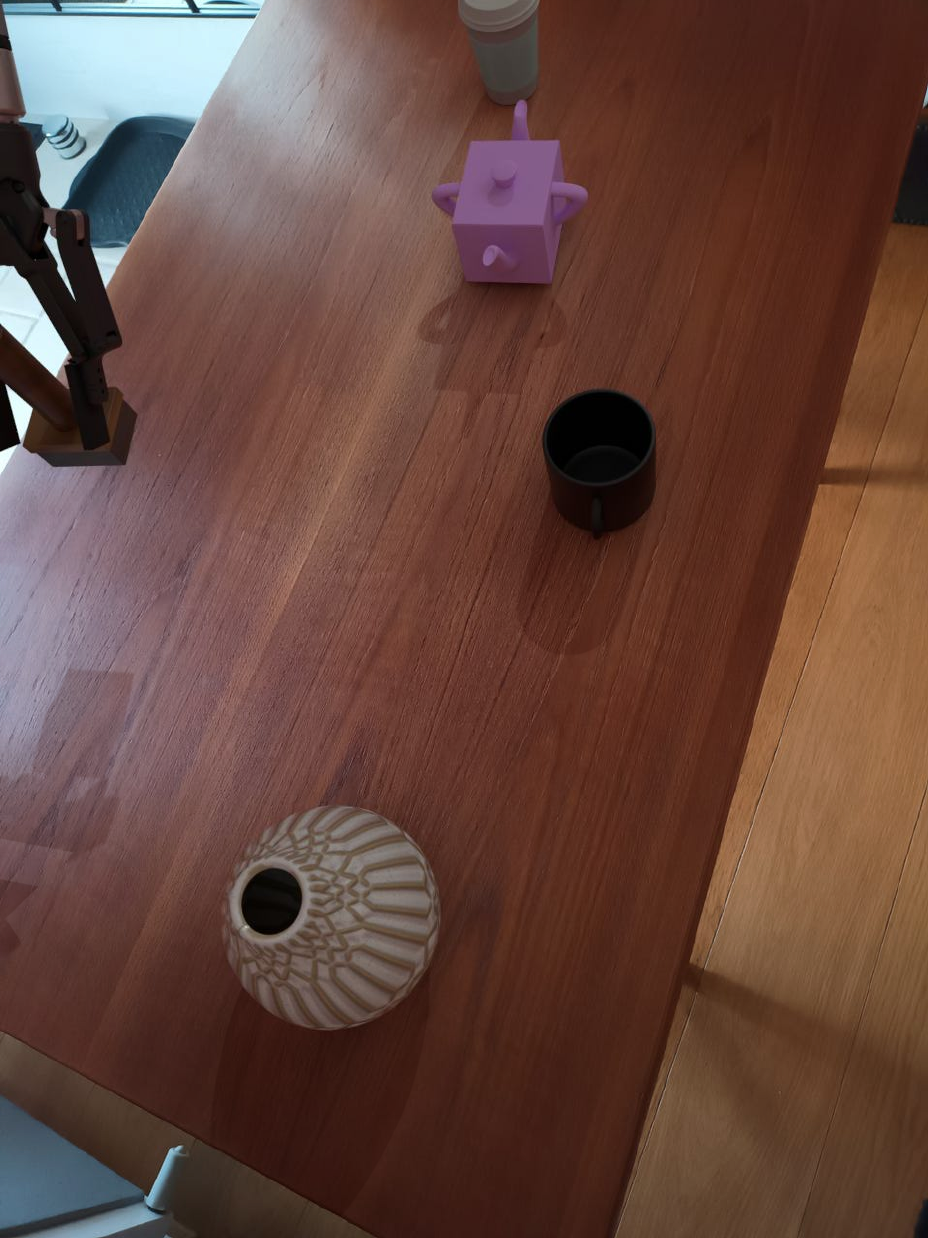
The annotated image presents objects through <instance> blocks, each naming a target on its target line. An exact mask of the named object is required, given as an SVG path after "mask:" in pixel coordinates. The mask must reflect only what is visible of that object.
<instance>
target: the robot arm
mask: <svg viewBox="0 0 928 1238" xmlns="http://www.w3.org/2000/svg"><path fill="white" fill-rule="evenodd" d="M2 1H3V0H0V267H3V266H4V267H13V268H14V269H15V271H16V273H17V274H18V275H19V276H20V277H21V278H22V279H24V280H25V281H26V282H27V284H28V285H29V287H30V289H31V290H32V292H33V294H34V296H35V297H36V298H37V300H38V301H37V302H38V303H39V305H40V306H41V307H42V310H43V311H44V313H45V314H46V316H47V318H48V320H49V321H50V323H51V324H52V327H53V328H54V330H55V331H56V333H57V335H58V336H59V338H60V340H61V341H62V343H63V346H65V348H66V350H67V351H68V353H69V355H70V358H69V359H67V360H66V361H67V364H64V365H63V367H64V372H65V376H66V380H67V384H68V389H70V393H71V398H72V402H73V406H74V411H75V415H76V419H77V423H78V428H79V432H80V436H81V440H82V445H83V449H84V451H86V450H94V449H97V448H99V447H101V446H103V445H105V444H107V443H109V442H111V441H110V436H109V432H108V427H107V423H106V418H105V414H104V409H103V405H102V403H104V402H106V401H108V398H109V392H108V387H109V386H108V382H107V378H106V374H105V369H104V364H103V359H104V356H106V354H108V353H111V352H112V351H114V350H117V349H119V348H121V347H122V346H123V337H122V334H121V331H120V329H119V325H118V323H117V319H116V316H115V314H114V310H113V307H112V304H111V301H110V298H109V296H108V293H107V290H106V286H105V283H104V280H103V277H102V274H101V270H100V269H99V266H98V262H97V259H96V256H95V254H94V251H93V248H92V244H91V225H90V224H91V223H90V221H91V220H90V215H89V214H88V212H87V210H85V209H82V208H77V209H74V208H73V209H62V208H57V207H51V205H50V203H49V202H48V201H47V199H46V198H45V196H44V194H43V191H42V190H41V178H42V173H41V169H40V164H39V160H38V155H37V152H36V151H37V150H36V147H35V142H34V139H33V138H34V137H33V134H32V131H31V130H29V129H28V127H27V126H26V125H21V123H20V119H23V118H24V117H25V116H26V114H27V109H26V105H25V100H24V95H23V91H22V87H21V82H20V78H19V74H18V70H17V65H16V60H15V55H14V52H13V48H12V43H11V40H10V34H9V31H8V24H7V20H6V16H5V11H4V7H3V2H2ZM49 228H50V229H49ZM48 230H49V234H50V236H51V237H52V238H54V239H56V246H57V250H58V254H59V257H60V260H61V264H62V266H63V269H64V272H65V275H66V277H67V278H66V279H67V280H68V283H69V287H70V289H71V290H70V289H69V287H68V286H67V284H66V282H65V280H64V278H63V277H62V275H61V273H60V272H59V269H58V267H59V263H58V261H57V259H56V257H55V255H54V254H53V252H52V251H51V249H50V247H49V245H48V244H47V242H46V240H45V239H46V236H47V233H48ZM12 407H13V406H12V404H11V400H10V396H9V392H8V389H7V385H6V384H5V383H4V382H2V381H1V380H0V453H1V452H4V451H6V450H9V449H11V448H14V447H16V446H18V445H21V444H22V442H21V437H20V435H19V430H18V428H17V422H16V420H15V415H14V411H13V408H12Z"/></svg>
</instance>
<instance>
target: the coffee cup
mask: <svg viewBox="0 0 928 1238" xmlns="http://www.w3.org/2000/svg"><path fill="white" fill-rule="evenodd" d="M540 1H541V0H457V13H458V16H459V18H460V20H461V21H462V23H463V24H464V25H465V29H466V32H467V35H468V39H469V41H470V44H471V47H472V50H473V54H474V57H475V60H476V64H477V66H478V68H479V72H480V76H481V79H482V82H483V85H484V88H485V91H486V94H487V96H488V98H489V99H490V100H491V101H492V102H494V103H496V104H498V105H502V106H512V105H516V104H517V103H518V102H519V101H520V100H525V101H526V100H528V99H529V98H530V97H531V96H532V95H533V94H534V93H535V91H536V90H537V88H538V83H539V82H538V81H539V43H538V42H539V4H540Z"/></svg>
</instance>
